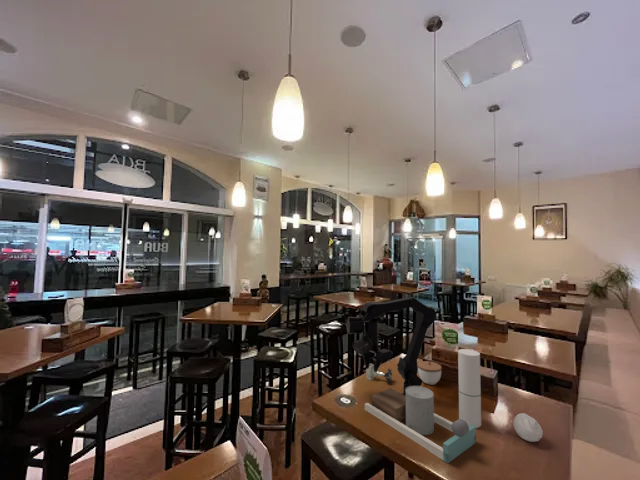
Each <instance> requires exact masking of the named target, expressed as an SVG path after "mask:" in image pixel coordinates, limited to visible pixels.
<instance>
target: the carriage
mask: <svg viewBox="0 0 640 480" xmlns="http://www.w3.org/2000/svg"><path fill="white" fill-rule="evenodd" d="M371 405H372V406H374V407H376V408H377V409H379V410H381V411H382V412H384V413H386V414H387V415H389V416H391V417H392V418H394V419H396V420H397V421H399V422H400V423H401V422H402V421H403V420H406V396H405V395H403V394H402V393H401V392H399V391H397V390H395V389H393V388H391V387H390V388H388V389H387V388H386V389H384V390H382V391H379V392H377V393H375V394H372V395H371Z"/></svg>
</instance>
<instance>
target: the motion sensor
mask: <svg viewBox="0 0 640 480" xmlns="http://www.w3.org/2000/svg"><path fill="white" fill-rule="evenodd" d="M513 419H514V420H513V428H514V430H515V432H516V434H517V435H518V436H519V437H520V438H521V439H523V440H525V441H527V442H530V443H532V442H533V443H535V442H539V441H540V440H541V439H542V438H543V433H544V432H543V428H542V426H541V425H540V423H538V421H537V420H536V419H535V418H534V417H532V416H530V415H528V414H527V413H524V412H522V413H518V414H516V415H515V417H514V418H513Z"/></svg>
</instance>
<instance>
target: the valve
mask: <svg viewBox="0 0 640 480" xmlns="http://www.w3.org/2000/svg"><path fill="white" fill-rule="evenodd" d="M392 371H393V370H392V368H387V371H386V372H385V373H384V372H381V371H379V369H378V370H377V372H374V363H370V364H369V368H368V369H367V368H366V370H365V374H366V380H368V381H374V380H375V377H376V378H377V377H384V378H385V380H386V383H387V384H390V383H391V381H392V379H393V378H392V376H393V373H392Z"/></svg>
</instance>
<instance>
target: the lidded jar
mask: <svg viewBox="0 0 640 480" xmlns="http://www.w3.org/2000/svg"><path fill="white" fill-rule="evenodd" d="M417 366H418V371H417V374H418V377H419V378H420V379H421V380H422V383H424V384H426V385H437V383H438V382H439V381H440V380H441V376H442V365H440V364H439V363H436V362H434V361H427V360H424V361H422V360H421V361H419V362H417Z"/></svg>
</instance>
